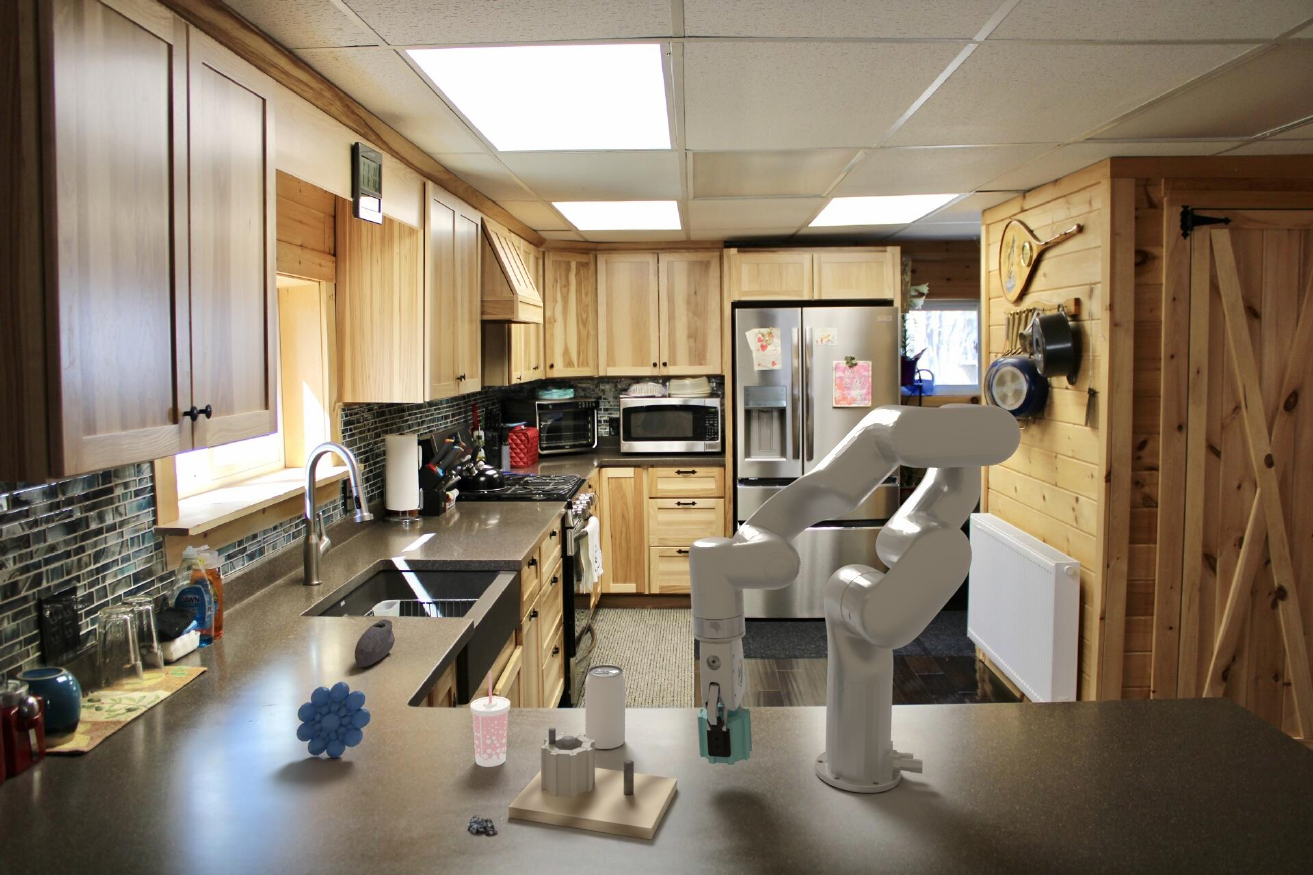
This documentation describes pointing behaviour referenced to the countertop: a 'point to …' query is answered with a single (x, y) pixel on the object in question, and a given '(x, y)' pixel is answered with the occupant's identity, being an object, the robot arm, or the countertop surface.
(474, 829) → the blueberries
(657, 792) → the board
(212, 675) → the countertop surface
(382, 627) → the perforated stone tool
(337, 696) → the blue flower ornament
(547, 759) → the gear
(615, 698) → the can
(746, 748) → the teal gear
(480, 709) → the beverage cup
